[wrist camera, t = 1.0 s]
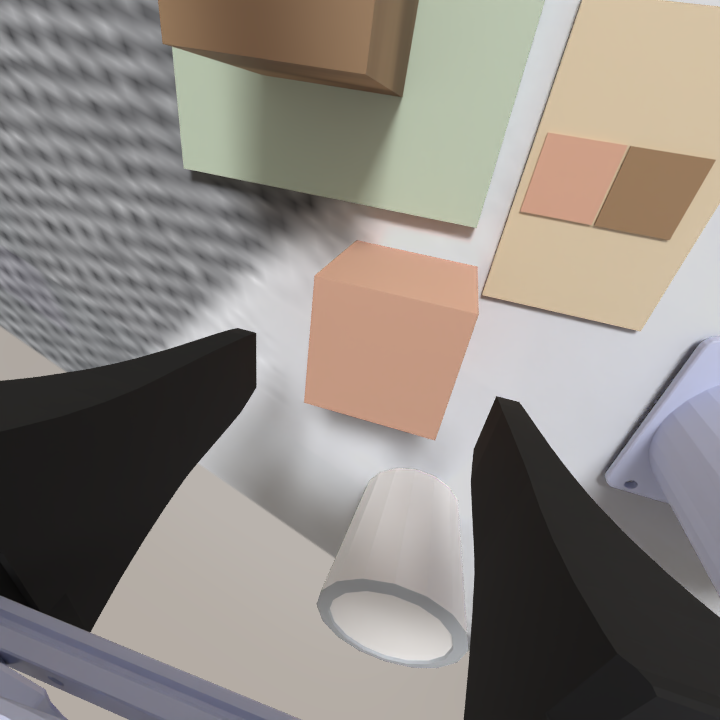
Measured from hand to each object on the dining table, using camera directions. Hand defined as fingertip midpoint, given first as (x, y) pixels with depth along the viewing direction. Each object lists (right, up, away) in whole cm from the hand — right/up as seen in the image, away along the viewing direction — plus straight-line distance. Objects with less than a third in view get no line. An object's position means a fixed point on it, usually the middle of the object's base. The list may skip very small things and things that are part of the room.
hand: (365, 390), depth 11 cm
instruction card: (+8, +7, +1) cm, 11 cm away
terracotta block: (+2, +3, +6) cm, 7 cm away
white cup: (+3, -8, +12) cm, 14 cm away
